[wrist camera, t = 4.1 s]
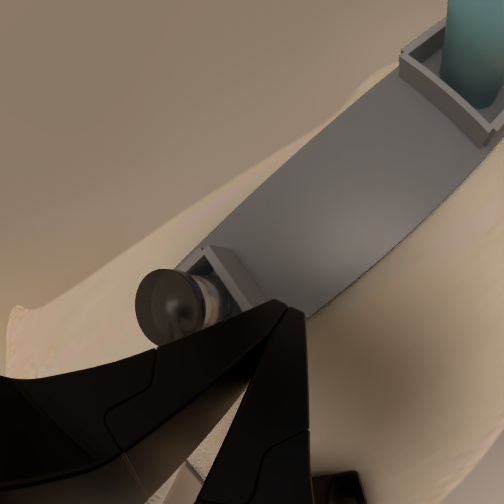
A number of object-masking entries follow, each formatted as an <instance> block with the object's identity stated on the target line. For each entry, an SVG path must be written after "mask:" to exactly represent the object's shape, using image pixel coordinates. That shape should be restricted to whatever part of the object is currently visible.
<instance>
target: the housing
mask: <svg viewBox="0 0 504 504" xmlns="http://www.w3.org/2000/svg"><path fill="white" fill-rule="evenodd" d="M446 18H447V16H446V17H445V18H444V19H442V20H441V21H439V22H438V23H436V24H435V25H434V26H432V27H431V28H430V29H428V30H427V31H425V32H424V33H423V34H421V35H420V36H418V37H417V38H416V39H414V40H413V41H412V42H410V43H409V44H408V45H406V46H405V47H404V48H403V49H401V55H400V56H399V66H398V67H397V68H396V69H395V70H393V71H392V72H391V73H390V74H388V75H387V76H386V77H385V78H383V79H382V80H381V81H380V82H378V83H377V84H376V85H375V86H374V87H372V88H371V89H370V90H369V91H368V92H366V93H365V94H364V95H363V96H362V97H360V98H359V99H358V100H357V101H356V102H354V103H353V104H352V105H351V106H350V107H348V108H347V109H346V110H345V111H344V112H343V113H341V114H340V115H339V116H338V117H337V118H336V119H334V120H333V121H332V122H331V123H330V124H329V125H327V126H326V127H325V128H324V129H323V130H322V131H321V132H319V133H318V134H317V135H316V136H315V137H314V138H313V139H311V140H310V141H309V142H308V143H307V144H306V145H305V146H303V147H302V148H301V149H300V150H299V151H298V152H297V153H296V154H295V155H293V156H292V157H291V158H290V159H289V160H288V161H287V162H286V163H285V164H283V165H282V166H281V167H280V168H279V169H278V170H277V171H276V172H275V173H274V174H272V175H271V176H270V177H269V178H268V179H267V180H266V181H265V182H264V183H263V184H262V185H260V186H259V187H258V188H257V189H256V190H255V191H254V192H253V193H252V194H251V195H250V196H249V197H248V198H246V199H245V200H244V201H243V202H242V203H241V204H240V205H239V206H238V207H237V208H236V209H235V210H234V211H233V212H232V213H231V214H230V215H228V216H227V217H226V218H225V219H224V220H223V221H222V222H221V223H220V224H219V225H218V226H217V227H216V228H215V229H214V230H213V231H212V232H211V233H210V234H209V235H208V236H207V237H206V238H205V239H204V240H203V241H202V242H201V243H200V244H198V245H197V246H196V247H195V248H194V249H193V250H192V251H191V252H190V253H189V254H188V255H187V256H186V257H185V258H184V259H183V260H182V261H181V262H180V263H179V264H178V265H177V266H176V267H175V268H174V270H180V271H183V272H185V273H187V274H189V275H203V276H219V277H220V279H221V280H222V282H223V283H224V285H225V286H226V287H227V289H228V290H229V292H230V293H231V295H232V296H233V298H234V299H235V301H236V302H237V304H238V305H239V306H240V308H241V312H244V311H246V310H248V309H251V308H253V307H255V306H257V305H260V304H262V303H264V302H267V301H269V300H271V299H277V300H279V301H281V302H283V303H286V304H287V305H288V308H289V307H291V306H292V307H294V308H297V309H299V310H301V311H303V312H304V313H305V318H306V319H308V318H309V317H310V316H312V315H313V314H314V313H316V312H317V311H318V310H319V309H321V308H322V307H323V306H325V305H326V304H327V303H328V302H330V301H331V300H332V299H333V298H335V297H336V296H337V295H338V294H340V293H341V292H342V291H343V290H345V289H346V288H347V287H348V286H350V285H351V284H352V283H353V282H354V281H356V280H357V279H358V278H359V277H360V276H362V275H363V274H364V273H365V272H366V271H368V270H369V269H370V268H371V267H372V266H373V265H375V264H376V263H377V262H378V261H379V260H380V259H382V258H383V257H384V256H385V255H386V254H387V253H388V252H390V251H391V250H392V249H393V248H394V247H395V246H396V245H397V244H399V243H400V242H401V241H402V240H403V239H404V238H405V237H406V236H407V235H408V234H410V233H411V232H412V231H413V230H414V229H415V228H416V227H417V226H418V225H419V224H420V223H421V222H422V221H423V220H424V219H426V218H427V217H428V216H429V215H430V214H431V213H432V212H433V211H434V210H435V209H436V208H437V207H438V206H439V205H440V204H441V203H442V202H443V201H444V200H445V199H446V198H447V197H448V196H449V195H450V194H451V193H452V192H453V191H454V190H455V189H456V188H457V187H458V186H459V185H460V184H461V183H462V182H463V181H464V180H465V179H466V178H467V177H468V175H469V174H470V173H471V172H472V171H473V170H474V169H475V168H476V167H477V166H478V165H479V164H480V163H481V161H482V160H483V159H484V158H485V157H486V156H487V155H488V154H489V153H490V151H491V150H492V149H493V148H494V147H495V146H496V145H497V144H498V142H499V141H500V140H501V139H502V138H503V137H504V83H503V85H502V87H501V89H500V91H499V93H498V95H497V97H496V99H495V101H494V103H493V104H492V105H491V106H490V107H488V108H485V109H474V108H473V107H472V106H471V105H470V104H469V103H468V102H467V101H465V100H464V99H463V98H462V97H461V96H460V95H459V94H458V93H457V92H455V91H454V90H453V89H452V88H451V87H450V86H448V85H447V84H446V83H445V82H444V81H442V80H441V79H440V77H439V70H440V64H441V58H442V51H443V44H444V36H445V28H446ZM241 312H240V313H241Z"/></svg>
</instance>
